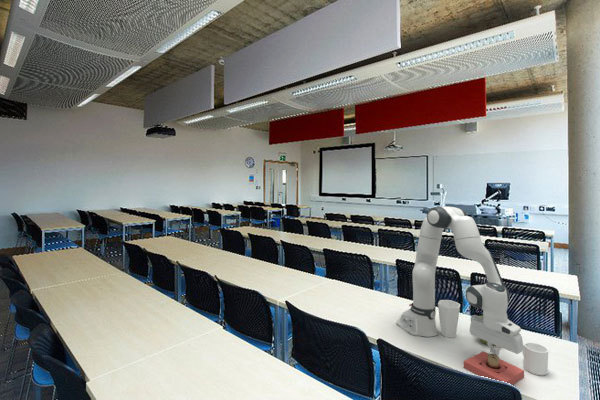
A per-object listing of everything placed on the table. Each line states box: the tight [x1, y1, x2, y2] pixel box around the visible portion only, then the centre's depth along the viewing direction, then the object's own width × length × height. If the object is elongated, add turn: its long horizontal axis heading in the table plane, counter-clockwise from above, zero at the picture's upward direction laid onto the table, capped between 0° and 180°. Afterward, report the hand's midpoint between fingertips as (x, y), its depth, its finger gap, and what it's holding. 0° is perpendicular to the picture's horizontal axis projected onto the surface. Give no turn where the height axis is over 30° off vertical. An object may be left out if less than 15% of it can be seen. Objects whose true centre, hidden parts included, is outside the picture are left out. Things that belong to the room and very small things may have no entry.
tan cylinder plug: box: [487, 353, 500, 369], centre depth 133 cm, size 4×4×7 cm
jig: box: [463, 351, 525, 386], centre depth 133 cm, size 17×15×3 cm
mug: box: [521, 342, 549, 377], centre depth 136 cm, size 12×8×10 cm
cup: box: [437, 299, 461, 339], centre depth 165 cm, size 11×10×17 cm
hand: (494, 353), depth 132 cm, fingers closed
